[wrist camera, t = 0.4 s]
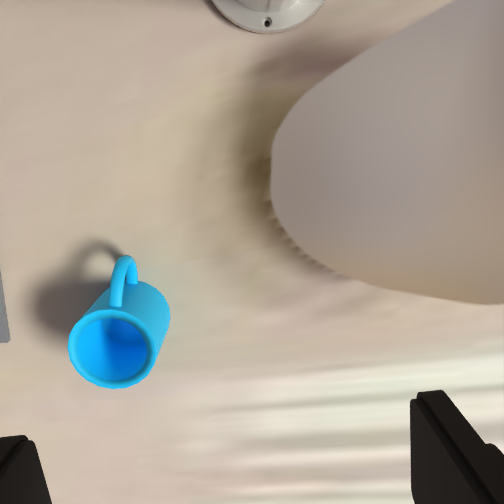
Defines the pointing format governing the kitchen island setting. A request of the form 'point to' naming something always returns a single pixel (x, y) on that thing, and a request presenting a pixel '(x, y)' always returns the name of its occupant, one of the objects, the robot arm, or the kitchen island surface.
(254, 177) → the kitchen island surface
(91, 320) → the mug
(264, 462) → the kitchen island surface
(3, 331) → the grey square mat
